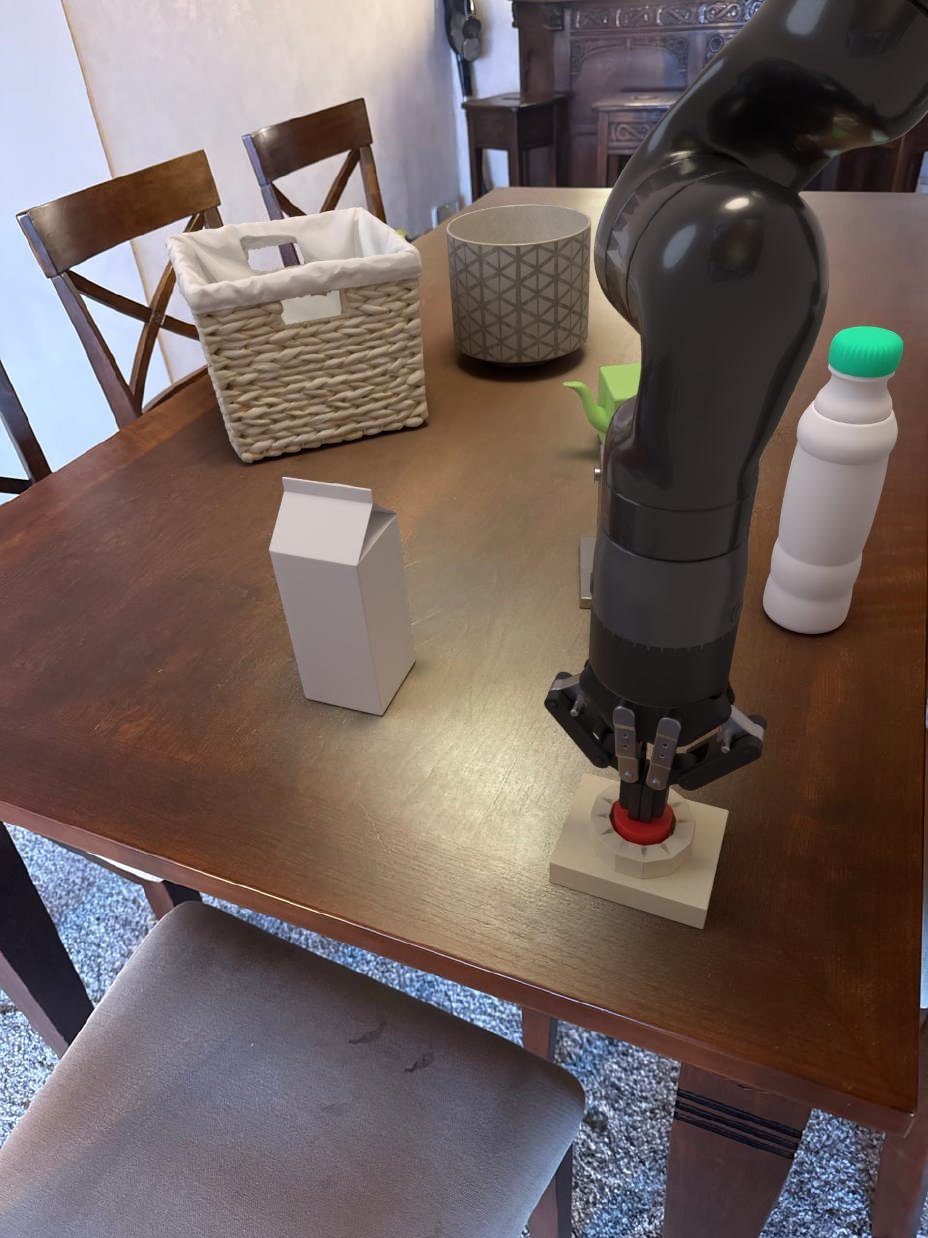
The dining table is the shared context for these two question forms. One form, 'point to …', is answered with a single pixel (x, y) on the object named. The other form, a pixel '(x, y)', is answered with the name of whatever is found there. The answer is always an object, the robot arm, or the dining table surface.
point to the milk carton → (343, 593)
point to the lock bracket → (589, 544)
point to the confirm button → (642, 827)
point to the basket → (307, 329)
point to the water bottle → (834, 484)
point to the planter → (519, 282)
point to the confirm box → (640, 855)
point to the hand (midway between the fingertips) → (641, 810)
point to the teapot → (608, 394)
